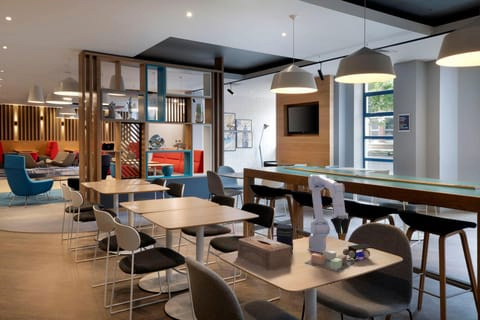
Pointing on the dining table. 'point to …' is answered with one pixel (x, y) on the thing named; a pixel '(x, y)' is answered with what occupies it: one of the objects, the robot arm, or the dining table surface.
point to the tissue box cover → (264, 252)
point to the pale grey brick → (329, 254)
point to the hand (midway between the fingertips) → (341, 233)
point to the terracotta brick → (317, 258)
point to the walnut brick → (343, 259)
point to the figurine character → (353, 254)
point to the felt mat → (328, 263)
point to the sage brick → (336, 263)
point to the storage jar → (285, 235)
